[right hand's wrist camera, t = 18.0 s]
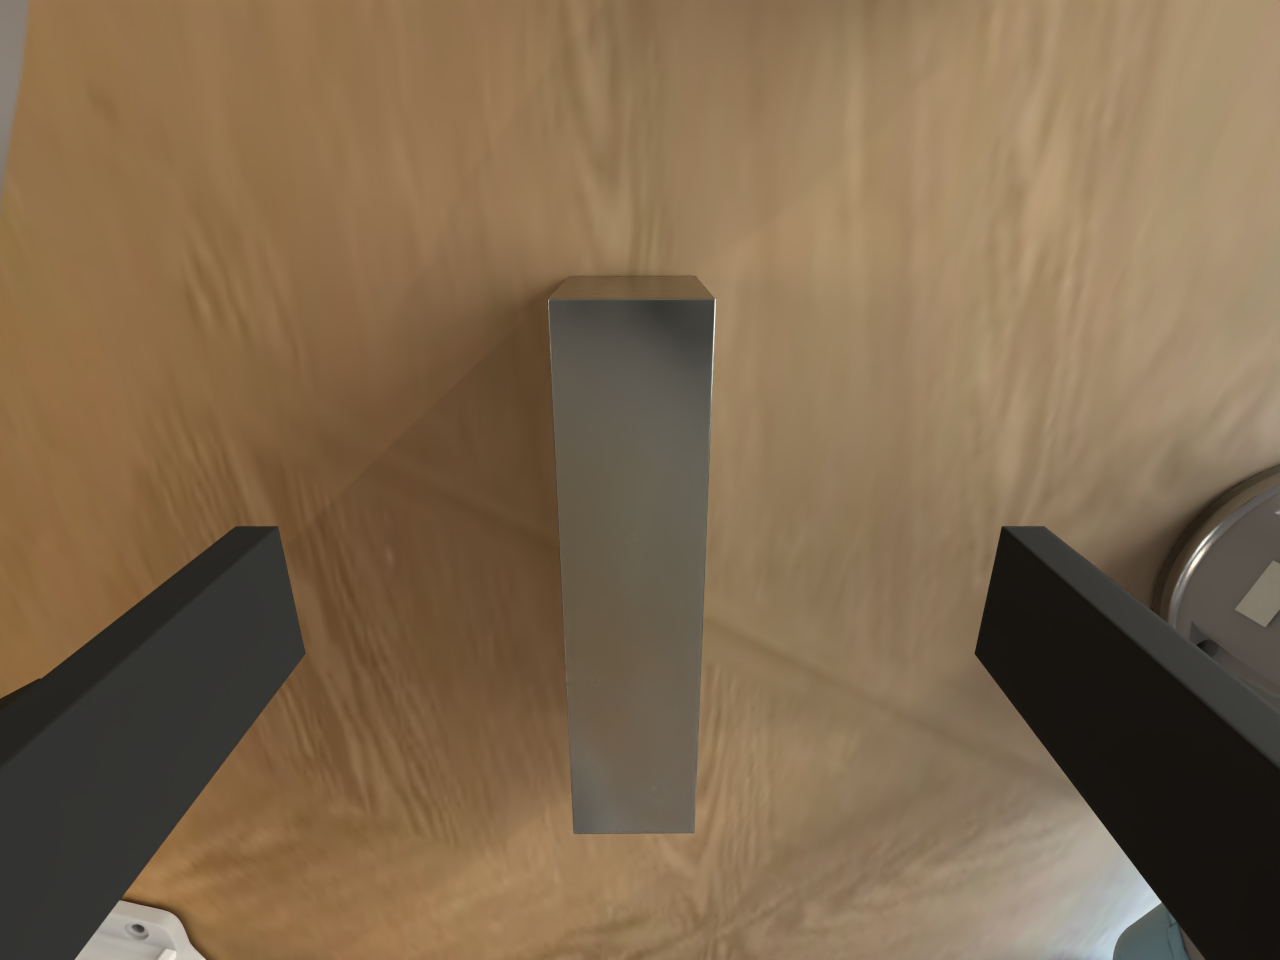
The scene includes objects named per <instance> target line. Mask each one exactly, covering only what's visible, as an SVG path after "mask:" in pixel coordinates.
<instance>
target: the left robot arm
mask: <svg viewBox="0 0 1280 960" xmlns="http://www.w3.org/2000/svg"><path fill="white" fill-rule="evenodd" d="M75 960H206V959H205V958H204V957H203V956H202V955H201V954H200V953H199V952H198V951H197V950H196V949H195V948H194V947H193V946H192V945H191V943H190V942H189V939H188V937H187V934H186V932H185V929H184V927H183V925H182V923H181V922H180V920H179V919H178V918H177V917H176V916H175V915H174V914H172V913H170V912H168V911H165V910H161V909H157V908H152V907H148V906H143V905H139V904H134V903H130V902H126V901H121V900H119V902H118V903H117V904H116V906H115V907H114V908H113V910H112V911H111V912H110V914H109V915H108V916H107V918H106V919H105V920H104V922H103V923H102V924H101V925H100V927H99V928H98V929H97V931H96V932H95V933H94V935H93V936H92V937H91V939H90V940H89V941H88V943H87V944H86V945H85V947H84V948H83V949H82V951H81V952H80V953H79V955H78V956H77V957H76V959H75Z"/></svg>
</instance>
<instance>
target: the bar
mask: <svg viewBox="0 0 1280 960" xmlns="http://www.w3.org/2000/svg"><path fill="white" fill-rule="evenodd" d="M715 310H716V299H715V298H714V297H713V295H712V294H711V293H710V292H709V291H708V290H707V288H706V287H705V286H704V285H703V284H702V283H701V282H700V280H699V279H698V278H697V277H696V276H569V277H568V278H567V279H566V280H565V281H564V282H563V283H562V284H561V285H560V286H559V288H558V289H557V290H556V291H555V292H554V293H553V294H552V295H551V296H550V297H549V298H548V320H549V341H550V361H551V381H552V402H553V422H554V443H555V463H556V484H557V504H558V524H559V545H560V565H561V586H562V606H563V627H564V647H565V667H566V688H567V708H568V729H569V749H570V770H571V790H572V810H573V831H574V834H632V833H694V829H695V804H696V779H697V754H698V730H699V705H700V680H701V656H702V631H703V606H704V582H705V557H706V532H707V507H708V483H709V458H710V433H711V409H712V384H713V359H714V335H715Z"/></svg>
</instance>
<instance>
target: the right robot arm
mask: <svg viewBox="0 0 1280 960" xmlns="http://www.w3.org/2000/svg"><path fill="white" fill-rule="evenodd" d="M304 655H305V650H304V645H303V640H302V636H301V631H300V626H299V622H298V617H297V612H296V608H295V603H294V598H293V594H292V589H291V584H290V580H289V575H288V570H287V566H286V561H285V556H284V552H283V547H282V542H281V538H280V533H279V529H278V526H236V527H234V528H233V529H232V530H231V531H229V532H228V533H227V534H226V535H224V536H223V537H222V538H220V539H219V540H218V541H217V542H215V543H214V544H213V545H212V546H210V547H209V548H208V549H206V550H205V551H204V552H203V553H201V554H200V555H199V556H197V557H196V558H195V559H194V560H192V561H191V562H190V563H189V564H187V565H186V566H185V567H183V568H182V569H181V570H180V571H178V572H177V573H176V574H175V575H173V576H172V577H171V578H169V579H168V580H167V581H166V582H164V583H163V584H162V585H160V586H159V587H158V588H157V589H155V590H154V591H153V592H152V593H150V594H149V595H148V596H146V597H145V598H144V599H143V600H141V601H140V602H139V603H137V604H136V605H135V606H134V607H132V608H131V609H130V610H129V611H127V612H126V613H125V614H123V615H122V616H121V617H120V618H118V619H117V620H116V621H115V622H113V623H112V624H111V625H109V626H108V627H107V628H106V629H104V630H103V631H102V632H100V633H99V634H98V635H97V636H95V637H94V638H93V639H92V640H90V641H89V642H88V643H86V644H85V645H84V646H83V647H81V648H80V649H79V650H78V651H76V652H75V653H74V654H72V655H71V656H70V657H69V658H67V659H66V660H65V661H63V662H62V663H61V664H60V665H58V666H57V667H56V668H55V669H53V670H52V671H51V672H49V673H48V674H47V675H46V676H44V677H43V678H42V679H37V680H35V681H33V682H31V683H30V684H28V685H26V686H24V687H22V688H20V689H18V690H16V691H14V692H12V693H10V694H9V695H7V696H5V697H3V698H1V699H0V960H75V959H76V957H77V956H78V955H79V953H80V952H81V951H82V949H83V948H84V947H85V945H86V944H87V943H88V941H89V940H90V939H91V937H92V936H93V935H94V933H95V932H96V931H97V929H98V928H99V927H100V925H101V924H102V923H103V922H104V920H105V919H106V918H107V916H108V915H109V914H110V912H111V911H112V910H113V908H114V907H115V906H116V904H117V903H118V902H119V900H120V899H121V898H122V896H123V895H124V894H125V892H126V891H127V890H128V888H129V887H130V886H131V884H132V883H133V882H134V880H135V879H136V878H137V876H138V875H139V874H140V872H141V871H142V870H143V868H144V867H145V866H146V864H147V863H148V862H149V860H150V859H151V858H152V857H153V855H154V854H155V853H156V851H157V850H158V849H159V847H160V846H161V845H162V843H163V842H164V841H165V839H166V838H167V837H168V835H169V834H170V833H171V831H172V830H173V829H174V827H175V826H176V825H177V823H178V822H179V821H180V819H181V818H182V817H183V815H184V814H185V813H186V811H187V810H188V809H189V807H190V806H191V805H192V803H193V802H194V801H195V799H196V798H197V797H198V795H199V794H200V793H201V792H202V790H203V789H204V788H205V786H206V785H207V784H208V782H209V781H210V780H211V778H212V777H213V776H214V774H215V773H216V772H217V770H218V769H219V768H220V766H221V765H222V764H223V762H224V761H225V760H226V758H227V757H228V756H229V754H230V753H231V752H232V750H233V749H234V748H235V746H236V745H237V744H238V742H239V741H240V740H241V738H242V737H243V736H244V734H245V733H246V732H247V730H248V729H249V728H250V727H251V725H252V724H253V723H254V721H255V720H256V719H257V717H258V716H259V715H260V713H261V712H262V711H263V709H264V708H265V707H266V705H267V704H268V703H269V701H270V700H271V699H272V697H273V696H274V695H275V693H276V692H277V691H278V689H279V688H280V687H281V685H282V684H283V683H284V681H285V680H286V679H287V677H288V676H289V675H290V673H291V672H292V671H293V669H294V668H295V667H296V665H297V664H298V663H299V662H300V660H301V659H302V658H303V656H304ZM975 655H976V656H977V658H978V659H979V660H980V661H981V663H982V664H983V665H984V667H985V668H986V669H987V671H988V672H989V673H990V675H991V676H992V677H993V679H994V680H995V681H996V683H997V684H998V685H999V687H1000V688H1001V689H1002V691H1003V692H1004V693H1005V695H1006V696H1007V697H1008V699H1009V700H1010V701H1011V703H1012V704H1013V705H1014V707H1015V708H1016V709H1017V711H1018V712H1019V713H1020V715H1021V716H1022V717H1023V719H1024V720H1025V721H1026V723H1027V724H1028V725H1029V727H1030V728H1031V729H1032V730H1033V732H1034V733H1035V734H1036V736H1037V737H1038V738H1039V740H1040V741H1041V742H1042V744H1043V745H1044V746H1045V748H1046V749H1047V750H1048V752H1049V753H1050V754H1051V756H1052V757H1053V758H1054V760H1055V761H1056V762H1057V764H1058V765H1059V766H1060V768H1061V769H1062V770H1063V772H1064V773H1065V774H1066V776H1067V777H1068V778H1069V780H1070V781H1071V782H1072V784H1073V785H1074V786H1075V788H1076V789H1077V790H1078V792H1079V793H1080V794H1081V795H1082V797H1083V798H1084V799H1085V801H1086V802H1087V803H1088V805H1089V806H1090V807H1091V809H1092V810H1093V811H1094V813H1095V814H1096V815H1097V817H1098V818H1099V819H1100V821H1101V822H1102V823H1103V825H1104V826H1105V827H1106V829H1107V830H1108V831H1109V833H1110V834H1111V835H1112V837H1113V838H1114V839H1115V841H1116V842H1117V843H1118V845H1119V846H1120V847H1121V849H1122V850H1123V851H1124V853H1125V854H1126V855H1127V857H1128V858H1129V859H1130V860H1131V862H1132V863H1133V864H1134V866H1135V867H1136V868H1137V870H1138V871H1139V872H1140V874H1141V875H1142V876H1143V878H1144V879H1145V880H1146V882H1147V883H1148V884H1149V886H1150V887H1151V888H1152V890H1153V891H1154V892H1155V894H1156V895H1157V896H1158V898H1159V899H1160V900H1161V902H1162V903H1161V904H1159V905H1158V906H1157V907H1155V908H1154V909H1153V910H1151V911H1150V912H1148V913H1147V914H1146V915H1144V916H1143V917H1142V918H1140V919H1139V920H1137V921H1136V922H1135V923H1133V924H1132V925H1131V926H1129V927H1128V928H1127V929H1126V930H1125V931H1124V932H1123V933H1122V934H1121V935H1120V937H1119V939H1118V941H1117V943H1116V946H1115V949H1114V954H1113V960H1280V465H1277V466H1275V467H1273V468H1270V469H1268V470H1266V471H1263V472H1261V473H1259V474H1257V475H1256V476H1254V477H1252V478H1250V479H1248V480H1246V481H1245V482H1243V483H1241V484H1240V485H1238V486H1236V487H1235V488H1233V489H1232V490H1230V491H1229V492H1228V493H1226V494H1225V495H1223V496H1222V497H1221V498H1219V499H1218V500H1217V501H1216V502H1215V503H1213V504H1212V505H1211V506H1210V507H1208V508H1207V509H1206V510H1205V511H1204V512H1203V513H1202V514H1201V515H1200V516H1199V517H1198V518H1197V519H1196V520H1195V521H1194V522H1193V523H1192V524H1191V526H1190V527H1189V528H1188V529H1187V530H1186V531H1185V533H1184V534H1183V535H1182V537H1181V538H1180V539H1179V540H1178V542H1177V543H1176V545H1175V547H1174V548H1173V550H1172V551H1171V553H1170V555H1169V556H1168V558H1167V560H1166V562H1165V564H1164V566H1163V568H1162V571H1161V573H1160V575H1159V578H1158V582H1157V585H1156V588H1155V593H1154V598H1153V608H1152V611H1151V610H1150V609H1149V608H1148V607H1146V606H1145V605H1144V604H1143V603H1141V602H1140V601H1139V600H1137V599H1136V598H1135V597H1134V596H1132V595H1131V594H1130V593H1128V592H1127V591H1126V590H1125V589H1123V588H1122V587H1121V586H1120V585H1118V584H1117V583H1116V582H1114V581H1113V580H1112V579H1111V578H1109V577H1108V576H1107V575H1105V574H1104V573H1103V572H1102V571H1100V570H1099V569H1098V568H1097V567H1095V566H1094V565H1093V564H1091V563H1090V562H1089V561H1088V560H1086V559H1085V558H1084V557H1083V556H1081V555H1080V554H1079V553H1077V552H1076V551H1075V550H1074V549H1072V548H1071V547H1070V546H1068V545H1067V544H1066V543H1065V542H1063V541H1062V540H1061V539H1060V538H1058V537H1057V536H1056V535H1054V534H1053V533H1052V532H1051V531H1049V530H1048V529H1047V528H1046V527H1044V526H1002V529H1001V533H1000V538H999V542H998V547H997V552H996V556H995V561H994V566H993V570H992V575H991V580H990V584H989V589H988V594H987V598H986V603H985V608H984V612H983V617H982V622H981V626H980V631H979V636H978V640H977V645H976V650H975Z"/></svg>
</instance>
